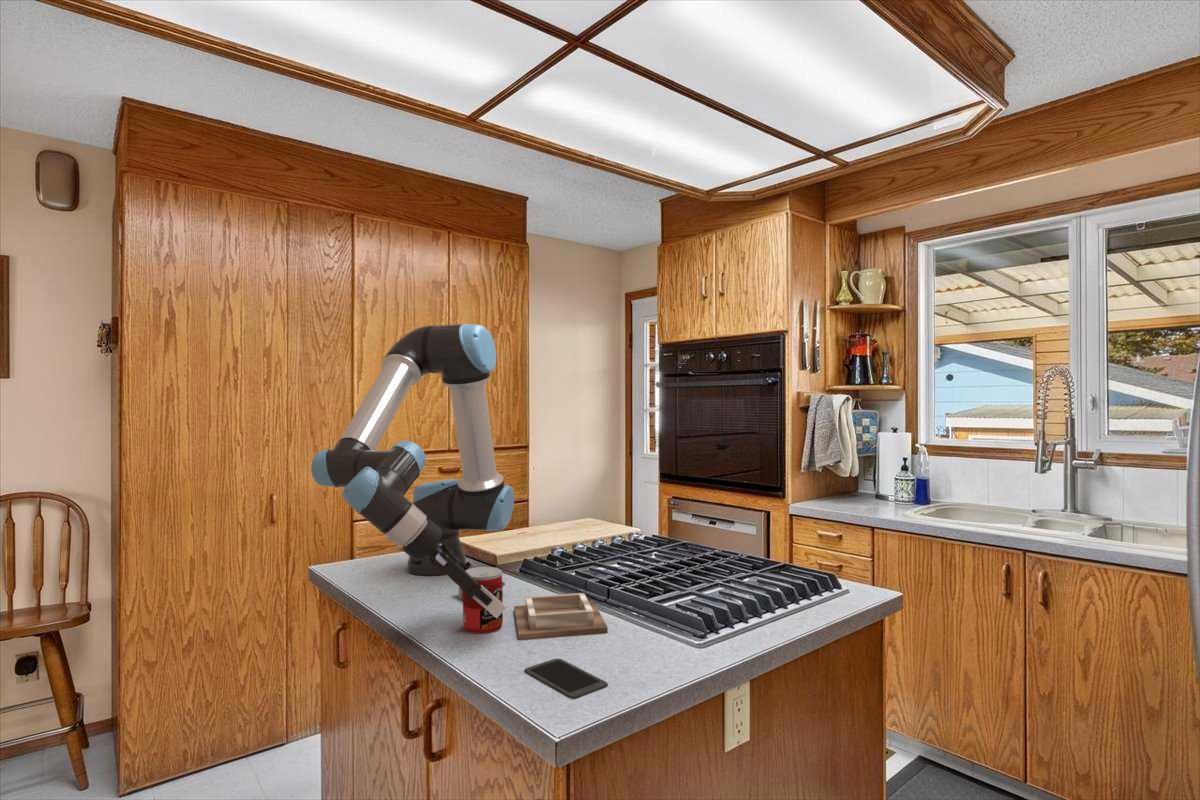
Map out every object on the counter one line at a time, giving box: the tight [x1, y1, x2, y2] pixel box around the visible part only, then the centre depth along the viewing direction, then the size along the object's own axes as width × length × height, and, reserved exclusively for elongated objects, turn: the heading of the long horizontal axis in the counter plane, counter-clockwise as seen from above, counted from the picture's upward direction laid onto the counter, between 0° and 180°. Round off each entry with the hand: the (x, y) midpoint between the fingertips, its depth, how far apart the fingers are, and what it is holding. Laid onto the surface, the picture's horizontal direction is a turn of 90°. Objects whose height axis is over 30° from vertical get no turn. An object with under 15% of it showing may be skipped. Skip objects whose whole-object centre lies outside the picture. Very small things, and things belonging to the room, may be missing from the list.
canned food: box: [462, 566, 504, 634], centre depth 132 cm, size 8×8×11 cm
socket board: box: [513, 592, 609, 641], centre depth 135 cm, size 17×17×4 cm
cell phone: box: [524, 657, 609, 700], centre depth 108 cm, size 7×14×1 cm, turn 39°
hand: (494, 602), depth 133 cm, fingers open, 12 cm apart
